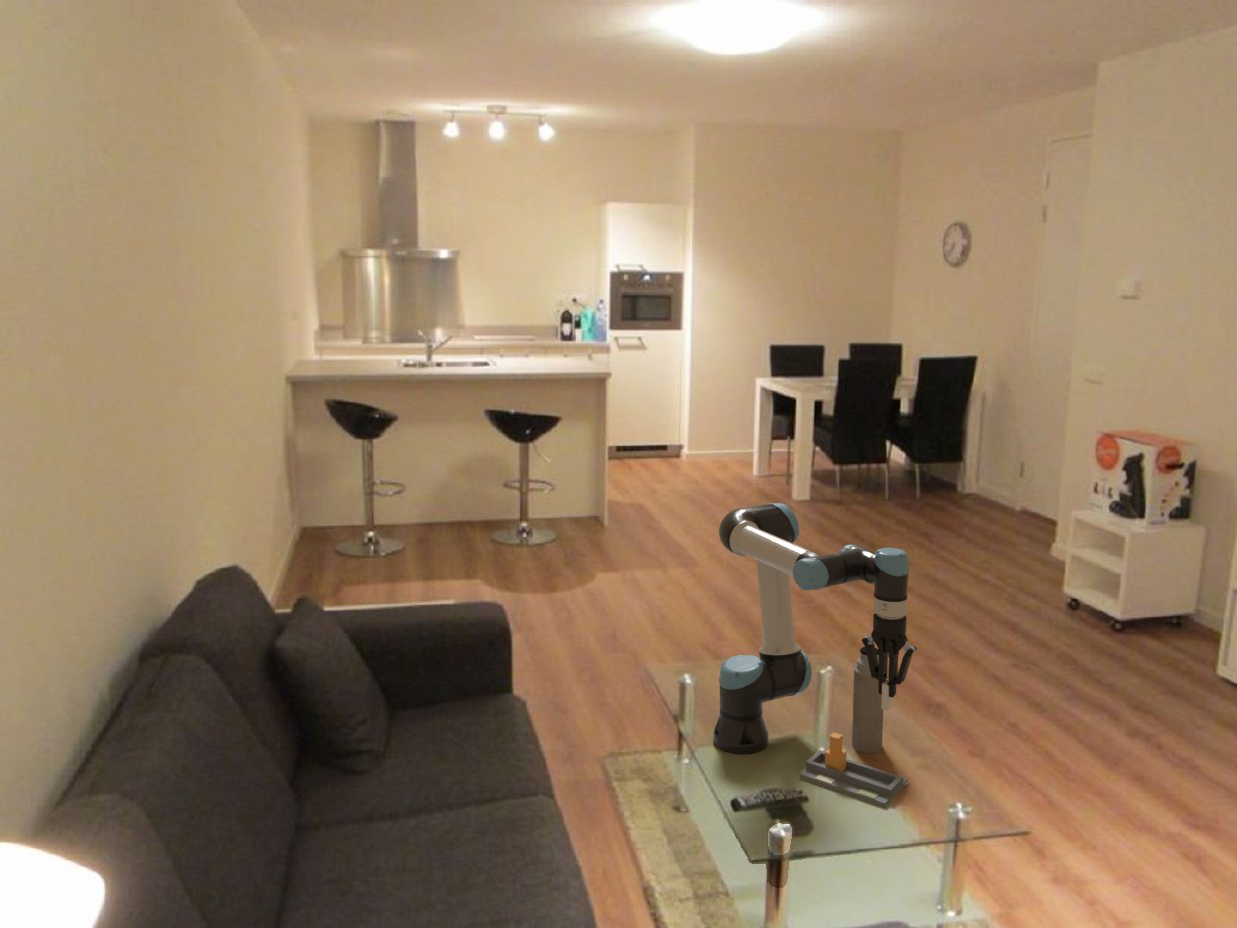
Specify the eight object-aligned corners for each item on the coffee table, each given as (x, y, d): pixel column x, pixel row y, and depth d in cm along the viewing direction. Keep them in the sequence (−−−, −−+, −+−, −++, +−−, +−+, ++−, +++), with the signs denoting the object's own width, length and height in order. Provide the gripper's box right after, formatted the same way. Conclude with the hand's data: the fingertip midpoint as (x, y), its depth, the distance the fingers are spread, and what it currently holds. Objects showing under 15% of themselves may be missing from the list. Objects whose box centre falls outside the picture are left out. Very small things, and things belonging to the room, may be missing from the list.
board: (799, 778, 243) (799, 766, 242) (824, 756, 254) (825, 745, 253) (884, 807, 229) (885, 795, 228) (907, 783, 239) (908, 771, 239)
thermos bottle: (881, 739, 262) (884, 644, 256) (883, 754, 254) (886, 655, 249) (851, 737, 263) (853, 642, 258) (852, 751, 256) (855, 654, 250)
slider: (824, 770, 244) (825, 736, 242) (831, 763, 247) (832, 730, 245) (839, 774, 241) (839, 740, 239) (846, 768, 244) (846, 734, 242)
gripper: (857, 613, 224) (854, 706, 228) (910, 624, 215) (906, 721, 220) (870, 604, 229) (868, 695, 234) (923, 615, 221) (919, 709, 226)
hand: (886, 707), depth 227 cm, fingers closed
